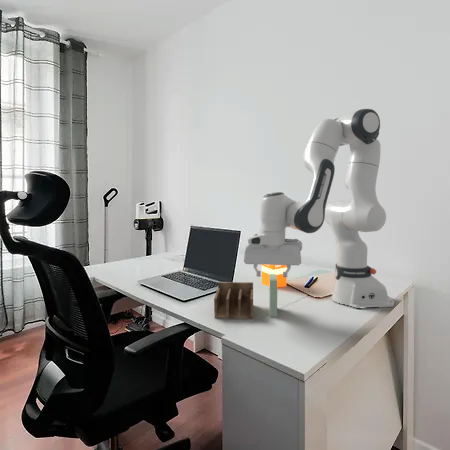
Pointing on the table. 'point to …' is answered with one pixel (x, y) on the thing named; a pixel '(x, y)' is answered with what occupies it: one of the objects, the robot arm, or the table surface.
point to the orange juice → (274, 270)
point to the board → (273, 295)
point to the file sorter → (234, 300)
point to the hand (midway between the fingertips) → (271, 276)
